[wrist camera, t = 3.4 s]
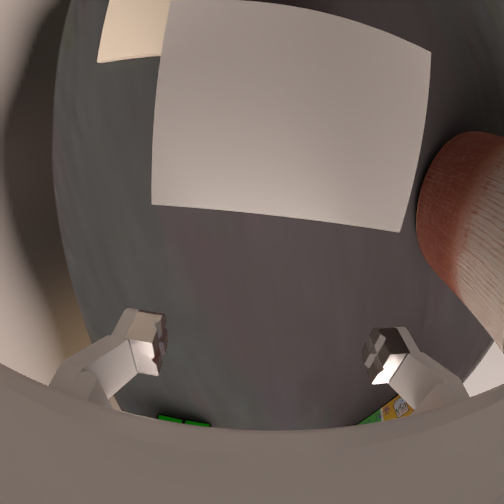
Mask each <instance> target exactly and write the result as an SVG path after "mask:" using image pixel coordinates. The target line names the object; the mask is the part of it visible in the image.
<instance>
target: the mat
mask: <svg viewBox="0 0 504 504" xmlns="http://www.w3.org/2000/svg"><path fill="white" fill-rule="evenodd" d="M171 1H184V0H110V1H109V5H108V9H107V13H106V17H105V22H104V26H103V31H102V36H101V41H100V47H99V53H98V59H97V62H99V63H104V62H110V61H117V60H124V59H132V58H141V57H151V56H161V52H162V45H163V39H164V33H165V28H166V23H167V17H168V13H169V8H170V3H171Z"/></svg>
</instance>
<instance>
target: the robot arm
mask: <svg viewBox="0 0 504 504" xmlns="http://www.w3.org/2000/svg"><path fill="white" fill-rule="evenodd" d="M165 324H166V316H165V314H162V313H156V312H150V311H145V310H138V309H132V308H127V309H125V311H124V312H123V314H122V316H121V318H120V320H119V322H118V324H117V325H116V327H115V329H114V331H113V333H112V335H111V336H109V335H107V336H105V337H104V338H102V339H100V340H99V341H97V342H95V343H93V344H92V345H90V346H88V347H87V348H85V349H83V350H81V351H80V352H78V353H76V354H75V355H73V356H71V357H69V358H68V359H66V360H64V361H62V362H61V364H60V366H59V367H58V369H57V371H56V373H55V375H54V377H53V379H52V380H51V382H50V384H49V386H47V385H44V384H42V383H40V382H37V381H35V380H33V379H31V378H29V377H26V376H25V375H22V374H20V373H18V372H16V371H14V370H12V369H11V368H8V367H7V366H5V365H3V364H1V363H0V504H504V384H502V385H500V386H498V387H495V388H493V389H491V390H488V391H486V392H483V393H481V394H479V395H476V396H473V397H469V395H468V393H467V391H466V389H465V387H464V386H463V384H462V382H461V380H460V378H459V377H457V376H456V375H454V374H453V373H452V372H450V371H449V370H447V369H446V368H445V367H443V366H442V365H440V364H439V363H438V362H436V361H435V360H433V359H432V358H430V357H429V356H428V355H426V354H425V353H423V352H420V351H419V349H418V347H417V345H416V344H415V342H414V340H413V339H412V337H411V335H410V333H409V332H408V330H407V329H406V328H405V327H388V328H374V329H373V330H372V331H371V333H370V338H371V339H370V340H368V341H367V342H366V343H365V345H364V347H363V352H362V358H363V362H364V364H365V365H366V366H367V367H369V369H368V372H367V373H368V375H369V378H370V381H371V384H380V383H388V384H389V385H390V386H391V387H392V388H393V389H394V390H395V391H396V392H397V393H398V394H399V395H400V396H401V397H402V398H403V399H404V400H405V401H406V402H407V403H408V404H409V405H410V406H411V407H412V408H413V409H414V411H413V412H412V413H411V414H410V415H409V416H405V417H401V418H396V419H391V420H386V421H381V422H375V423H369V424H362V425H355V426H347V427H337V428H327V429H313V430H287V431H264V430H239V429H225V428H214V427H205V426H196V425H189V424H182V423H176V422H170V421H165V420H159V419H154V418H149V417H145V416H140V415H136V414H132V413H128V412H124V411H120V410H116V409H113V408H112V406H111V404H110V402H109V400H108V399H109V398H110V397H111V396H112V395H113V394H115V393H116V392H117V391H118V390H119V389H120V388H121V387H123V386H124V385H125V384H126V383H127V382H128V381H129V380H131V379H132V378H133V377H134V376H135V375H136V374H137V372H139V373H144V374H150V375H157V376H159V373H160V369H161V366H162V363H163V362H162V356H163V355H164V354H165V352H166V349H167V342H168V333H167V330H166V329H165V328H164V327H165Z"/></svg>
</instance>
